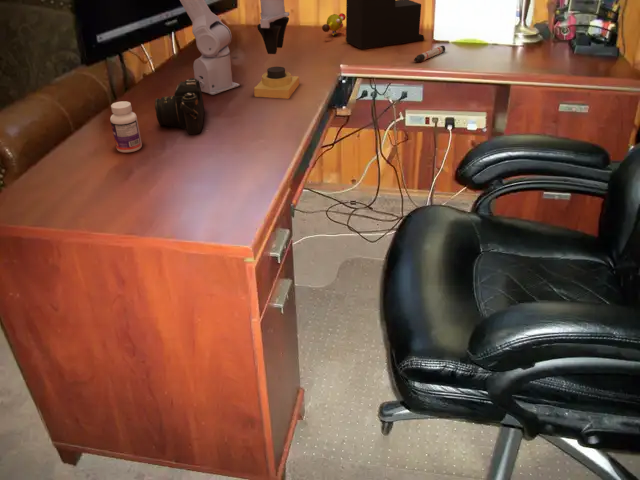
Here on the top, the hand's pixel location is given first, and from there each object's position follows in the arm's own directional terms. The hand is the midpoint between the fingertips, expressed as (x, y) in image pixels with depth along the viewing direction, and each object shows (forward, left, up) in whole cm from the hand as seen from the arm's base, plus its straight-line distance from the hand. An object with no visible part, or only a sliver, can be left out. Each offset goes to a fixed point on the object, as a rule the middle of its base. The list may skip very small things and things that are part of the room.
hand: (275, 50), depth 156 cm
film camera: (-30, 0, -11) cm, 32 cm away
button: (0, 0, -7) cm, 7 cm away
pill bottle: (-46, -2, -11) cm, 47 cm away
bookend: (+55, +7, -11) cm, 56 cm away
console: (0, 0, -10) cm, 10 cm away
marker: (+49, -14, -11) cm, 52 cm away
